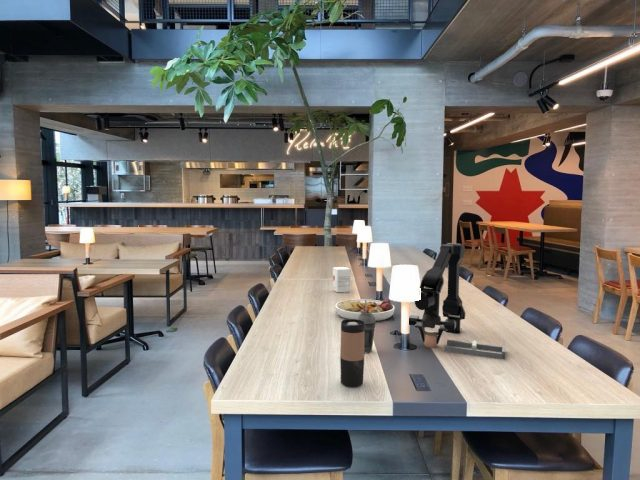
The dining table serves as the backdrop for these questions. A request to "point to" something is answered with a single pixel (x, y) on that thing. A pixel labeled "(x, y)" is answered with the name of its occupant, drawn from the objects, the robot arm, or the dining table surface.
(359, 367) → the travel mug
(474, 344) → the pusher plate
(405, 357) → the dining table surface
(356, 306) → the bowl
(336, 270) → the supplement box
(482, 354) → the lane
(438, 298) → the robot arm
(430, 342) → the jar
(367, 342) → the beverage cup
